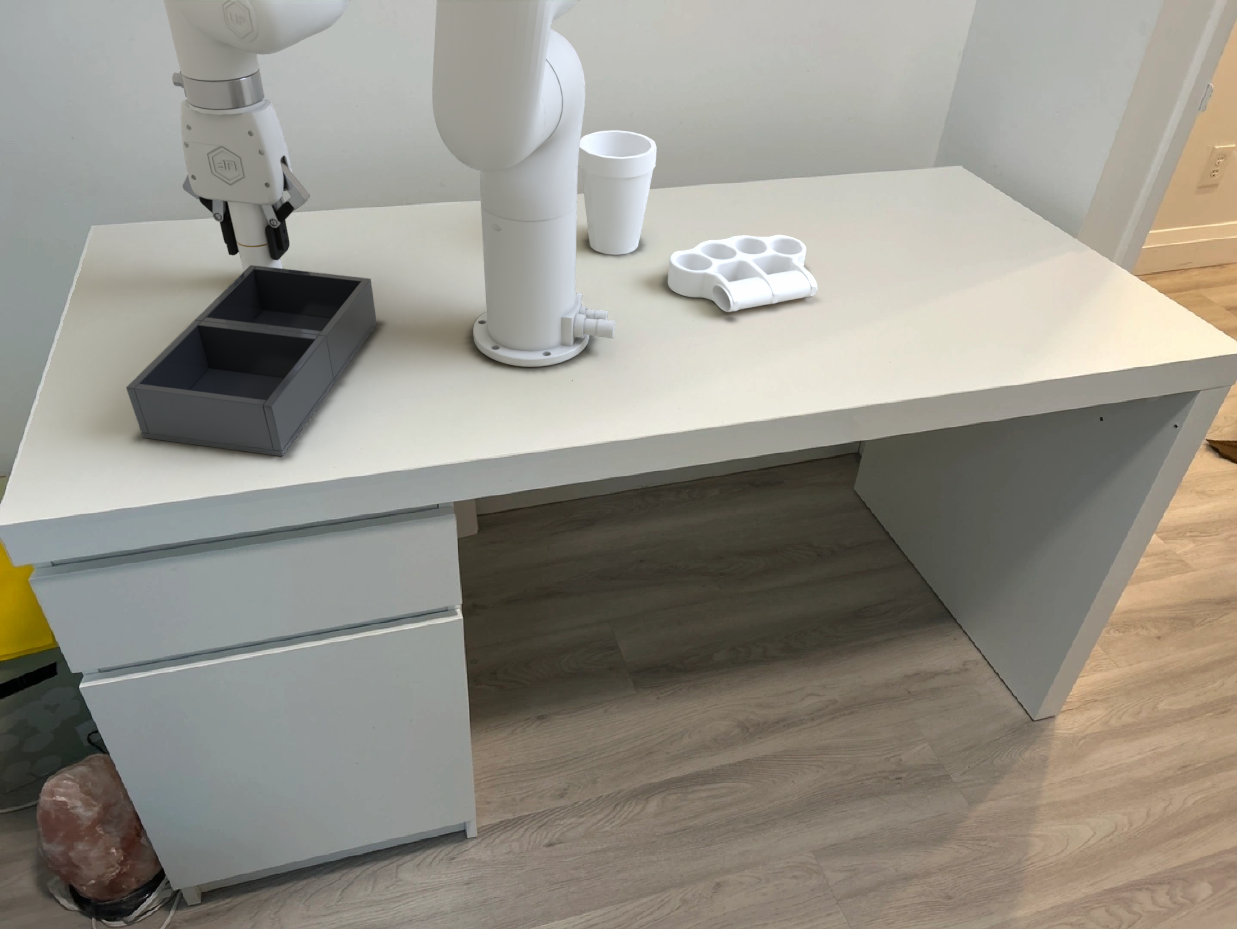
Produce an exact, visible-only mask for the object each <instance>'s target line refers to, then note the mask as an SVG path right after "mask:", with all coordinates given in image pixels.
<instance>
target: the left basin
mask: <svg viewBox="0 0 1237 929" xmlns="http://www.w3.org/2000/svg"><path fill="white" fill-rule="evenodd" d="M334 385H335V384H334V380H333V374H332V369H331V363H330V357H329V351H328V346H327V340H326V336H318V335H312V334H304V333H296V332H287V331H279V330H271V329H263V328H254V327H246V326H238V325H230V324H221V323H213V322H205V321H202V322H201V321H195V320H193V321H192V322H191V323H190V324H189V325H188V326H187V327H186V328H185V329H184V330H183V331H182V332H181V333H179V334H178V336H176V338H175V339H173V341H171V343H170V344H169V345H167V347H166V348H164V350H162V351H161V352H160V353H159V354H158V355H157V356H156V357H155V358H154V359H153V360H152V361H151V362H150V363H149V364H148V365H147V366H146V367H145V368H144V369H143V370H142V371H141V372H140V373H139V374H138V375H137V376H136V377H135V378H134V379H133V380H132V381H130V383H129V384H127V386H126V387H125V389H126V392H127V395H128V397H129V400H130V403H131V406H132V409H133V413H134V415H135V418H136V421H137V424H138V427H139V430H140V432H141V433H140V434H141V436H142V438H144V439H150V440H151V439H152V440H159V441H166V442H172V443H173V442H174V443H181V444H189V445H196V446H204V447H212V448H217V449H218V448H219V449H226V450H232V451H239V452H240V451H241V452H247V453H254V454H262V455H268V456H269V455H270V456H278V457H283V456H284V455H285V454H286V453H287V451H288V450H289V449H290V447H291V446H292V444H293V443H294V441H295V440H296V439H297V437H298V435H299V434H300V432H301V431H302V430H303V429H304V427H305V426H306V425H307V423H308V422H309V420H310V419H311V417H312V416H313V415H314V413H315V412H316V410H317V409H318V408H319V406H320V405H321V404H322V402H323V401H324V399H325V398H326V396H328V394H329V392H331V389H332V388H333V386H334Z"/></svg>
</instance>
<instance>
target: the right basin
mask: <svg viewBox="0 0 1237 929" xmlns="http://www.w3.org/2000/svg"><path fill="white" fill-rule="evenodd" d="M372 284H373V283H372V278H368V277H359V276H351V275H342V274H341V275H340V274H334V273H333V274H332V273H325V272H317V271H316V272H315V271H307V270H299V269H289V268H282V269H281V268H273V267H264V266H254V265H250V266H249V267H248V268H247V269H246V270H245V271H244V272H243V271H242V273H240V274H239V276H238V277H237V278H236V279H235V280H233V281H232V282H231V284H230V285H228V287H226V289H224V291H222V293H220V294H219V295H218V296H217V297H216V298H215V299H214V300H213V301H212V302H211V303H210V304H209V305H208V306H207V307H206V308H205V309H204V310H203V311H202V312H201V313H200V314H199V315H198V316H197V317H196V318H195V319H194V321H201V322H202V321H205V322H213V323H221V324H230V325H238V326H246V327H254V328H263V329H271V330H279V331H287V332H296V333H304V334H312V335H318V336H326V340H327V346H328V351H329V357H330V363H331V369H332V374H333V380H334V385H335V384H336V383H337V381H338V379H339V378H340V377H341V376H342V374H343V372H344V371H345V370H346V368H347V367H348V366H349V365H350V363H351V361H352V360H353V358H354V357H355V356H356V354H357V353H358V352H359V350H360V349H361V348H362V346H363V345H364V343H365V342H366V340H367V339H368V338H369V336H370V335H371V333H372V332H373V331H374V329H375V328H376V327H377V325H378V322H377V315H376V307H375V300H374V293H373V285H372Z"/></svg>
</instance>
